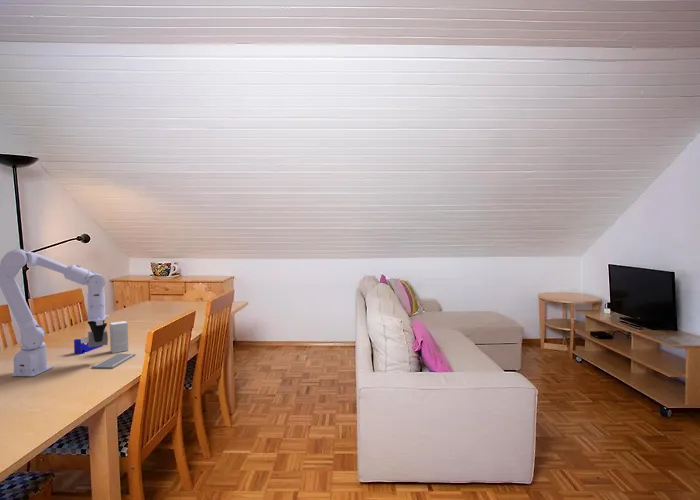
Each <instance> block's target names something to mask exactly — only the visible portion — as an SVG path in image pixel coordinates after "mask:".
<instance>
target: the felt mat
mask: <svg viewBox="0 0 700 500" xmlns="http://www.w3.org/2000/svg"><path fill="white" fill-rule="evenodd" d="M135 356H136V353H114V354H113V355H111V356H109V357H107V358H105V359H104V360H102V361H100V362H98V363H96V364H94V365H92V366H90V368H91V369H94V370H95V369H97V370H98V369H99V370H101V369H104V370H105V369H106V370H107V369H108V370H109V369H111V370H113V369H115V368H116V367H119V366H121V365H122V364H123V363H125V362H127V361H129V360H131V359H133V357H135Z"/></svg>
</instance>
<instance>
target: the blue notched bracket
mask: <svg viewBox="0 0 700 500" xmlns="http://www.w3.org/2000/svg"><path fill="white" fill-rule="evenodd" d="M73 345H74V346H73V347H74V350H73V351H74V355H82V354H86V353H88V352H92V351H93V350H95V349H98V348H99V349H100V348H101V347H103V346H96V347H89V345H88V343H81V338H76V339H74V340H73ZM85 352H86V353H85Z"/></svg>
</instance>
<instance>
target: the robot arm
mask: <svg viewBox="0 0 700 500" xmlns="http://www.w3.org/2000/svg"><path fill="white" fill-rule="evenodd" d="M27 264H28V265H27ZM25 265H27V266H28V267H34V266H35V267H36V266H40V267H42V268H45V269H48V270H51V271H54V272H57V273H61V274H63V276H64V279H66V280H69V281H71V282H73V283H76V284H79V285H82V286H87V293H86V295H87V297H86V298H87V320H88V321H87V323H88V326H89V328H90V332H92V331H93V335H94V340H95V342H101V341H102V338H103V333H104V330H106V327H107V325H108V324H107V322H105V320H106V319H108V318H110V315H109V314H106V293H105V286H106V280H105V278H104V276H103V275H102V274H100V273H99V272H95V271H94V270H92V269H91V270H89V269H86V268H84V267H81V266H82V265H80V264H79V263H77V264H70V265H67V264H64V263H61V262H59V261H57V260H55V259H52V258H50V257H47V256H45V255H43V254H39V253H36V252H33V251H26V250H25V249H22V248H15V249H13V250H10V251H8V252H6V253H5V254H4V256H3V257H2V258H1V259H0V290H1V292H2V294H3V296H4V298H5V300H6V303H7V304H8V306H9V309H10V311H11V313H12V315H13V317H14V319H15V320H16V322H17V325H18V329H19V333H20V335H21V339H20V342H21V343H20V344H21V346H20V350H19V351H18V352H17V353H16V354H14V356H13V374H11V377H36V376H38V375H41V374H43V373H44V372H46V371H48V370H51V369H53V368H54V367H53V366H51V365H49V366H48V365H47V363H48V362H47V361H48V360H47V343H46V342H45V341H44V338H45V336H46V335H45V334H46V332H45V329H44V328H43V327H41V326H40V325H39V324H38V322H37V320H36V319H35V317H34V316H33V314H32V311H31V309H30V307H29V305H28V302H27V301H26V298H25V296H24V293H23V292H22V290H21V288H20V286H19V284H18V282H17V280H16V276H17V275H18V273H19V272H21V269H22V268H23V267H24V266H25Z"/></svg>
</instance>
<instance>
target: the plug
mask: <svg viewBox="0 0 700 500" xmlns="http://www.w3.org/2000/svg"><path fill="white" fill-rule="evenodd" d="M80 339H81V343H84V344H87V343H88V345H89V347H96V346H102V347H103V346H108V345H109V344H108V343H109V336H108V331H107V329H105V330H104V333H103V338H102V341H101V342H95V340H94V335H93V331H87V337H81V338H80Z"/></svg>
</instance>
